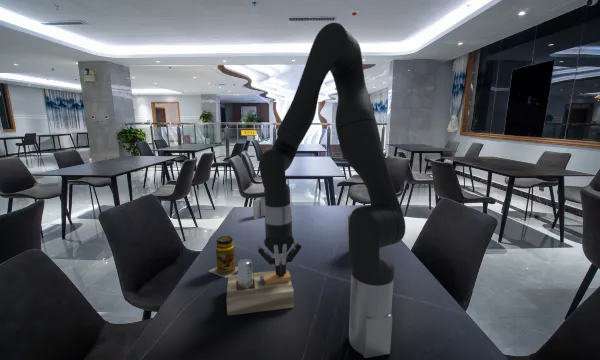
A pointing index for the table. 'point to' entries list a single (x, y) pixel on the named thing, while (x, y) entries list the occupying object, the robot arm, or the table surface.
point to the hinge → (259, 207)
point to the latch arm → (274, 278)
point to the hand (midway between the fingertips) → (280, 275)
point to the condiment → (225, 257)
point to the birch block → (258, 295)
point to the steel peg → (245, 274)
